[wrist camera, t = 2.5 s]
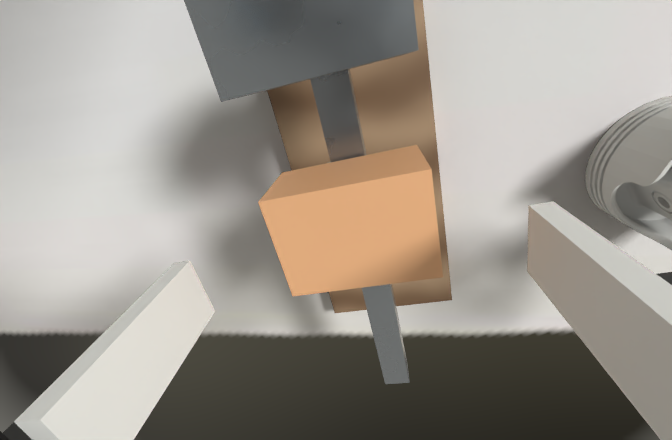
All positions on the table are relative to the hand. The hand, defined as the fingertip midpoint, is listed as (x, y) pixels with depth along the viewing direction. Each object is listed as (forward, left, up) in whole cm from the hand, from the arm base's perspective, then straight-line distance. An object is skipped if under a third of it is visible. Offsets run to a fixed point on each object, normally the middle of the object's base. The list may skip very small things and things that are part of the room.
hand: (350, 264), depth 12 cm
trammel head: (0, 0, -14) cm, 14 cm away
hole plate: (+1, 0, -17) cm, 17 cm away
